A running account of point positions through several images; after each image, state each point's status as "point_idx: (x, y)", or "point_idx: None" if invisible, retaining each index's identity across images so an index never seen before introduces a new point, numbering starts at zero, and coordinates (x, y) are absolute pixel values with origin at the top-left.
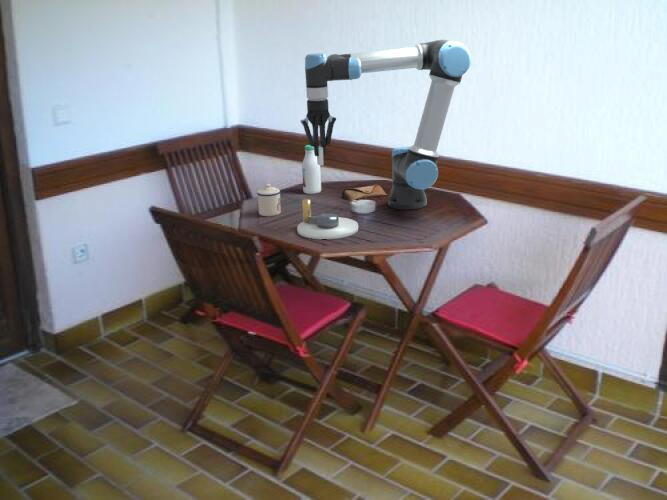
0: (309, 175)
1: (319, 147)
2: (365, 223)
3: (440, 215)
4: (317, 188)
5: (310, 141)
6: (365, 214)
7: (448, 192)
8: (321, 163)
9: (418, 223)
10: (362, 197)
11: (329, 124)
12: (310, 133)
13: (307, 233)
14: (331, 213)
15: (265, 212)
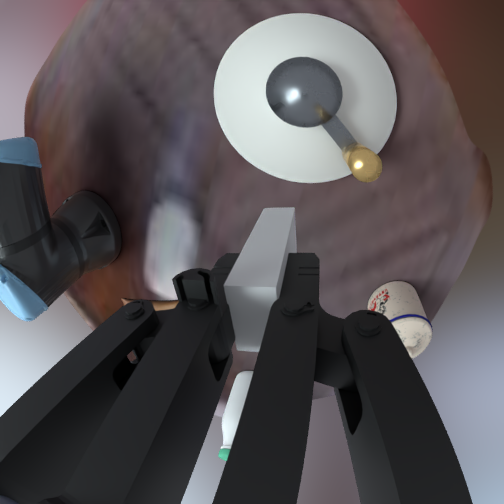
0: None
1: (264, 298)
2: (190, 116)
3: (55, 138)
4: (243, 377)
5: (405, 365)
6: (174, 192)
7: None
8: (278, 213)
9: (91, 91)
10: (164, 303)
11: (19, 486)
12: (407, 501)
13: (379, 55)
14: (281, 119)
15: (414, 290)
